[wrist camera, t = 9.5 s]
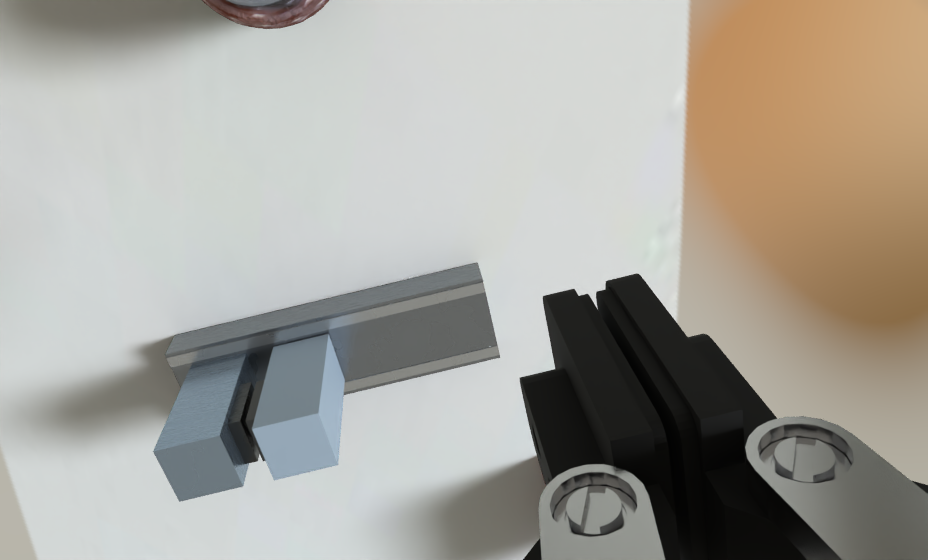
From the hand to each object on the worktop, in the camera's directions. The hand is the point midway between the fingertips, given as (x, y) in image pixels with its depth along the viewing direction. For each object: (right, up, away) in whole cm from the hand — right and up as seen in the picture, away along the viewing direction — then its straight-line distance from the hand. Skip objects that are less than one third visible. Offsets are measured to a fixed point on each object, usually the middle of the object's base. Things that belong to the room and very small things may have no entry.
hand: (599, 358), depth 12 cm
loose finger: (-11, -3, +26) cm, 28 cm away
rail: (-9, -2, +28) cm, 29 cm away
